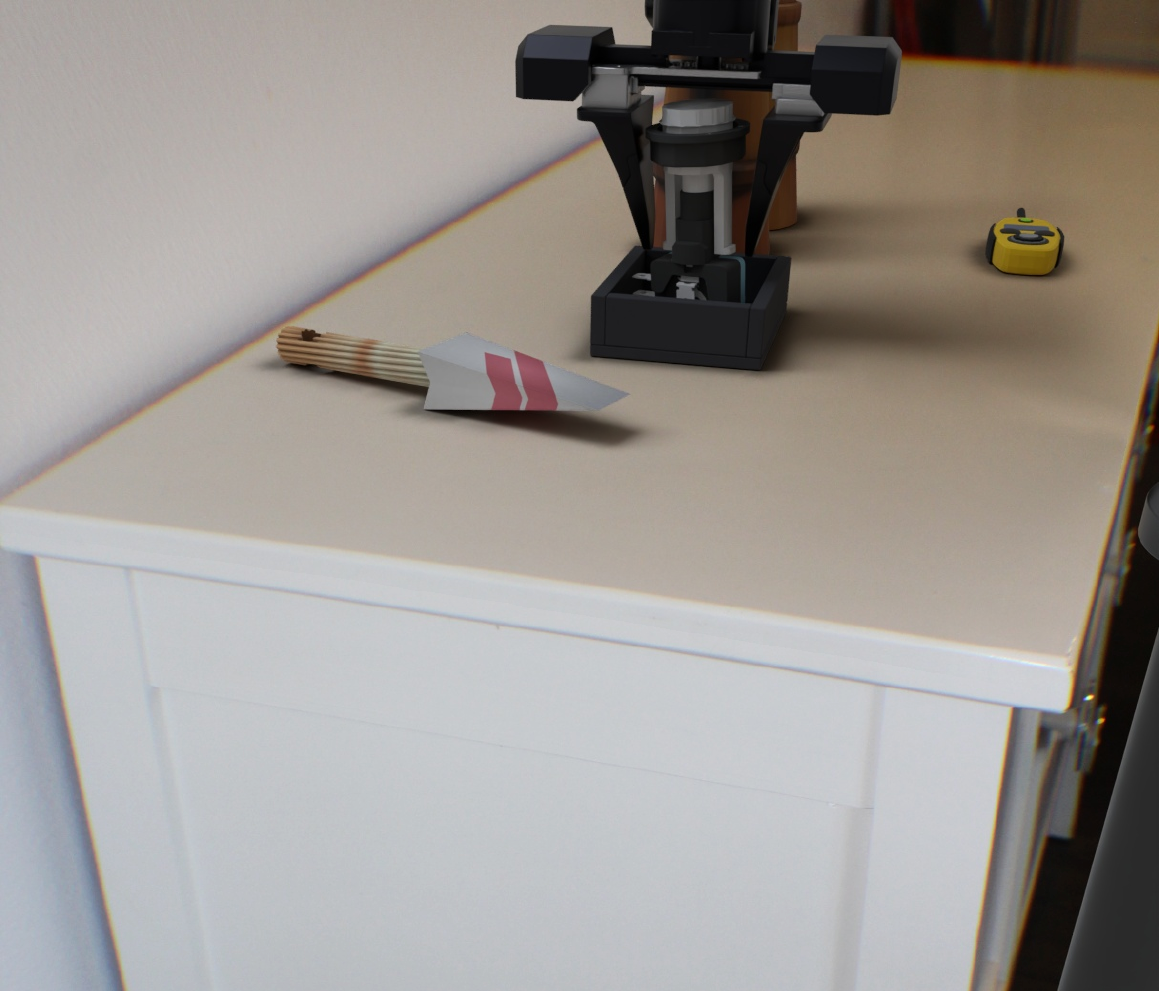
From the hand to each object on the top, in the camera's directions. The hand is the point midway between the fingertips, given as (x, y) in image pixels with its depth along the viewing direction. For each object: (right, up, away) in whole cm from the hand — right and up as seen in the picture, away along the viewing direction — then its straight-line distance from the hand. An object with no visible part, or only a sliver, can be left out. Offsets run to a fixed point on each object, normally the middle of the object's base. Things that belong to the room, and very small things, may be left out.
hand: (698, 252), depth 77 cm
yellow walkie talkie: (+23, +9, +20) cm, 32 cm away
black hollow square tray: (0, -3, +3) cm, 4 cm away
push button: (0, -2, +2) cm, 3 cm away
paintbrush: (-13, -10, -6) cm, 18 cm away
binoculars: (+4, +11, +22) cm, 25 cm away
